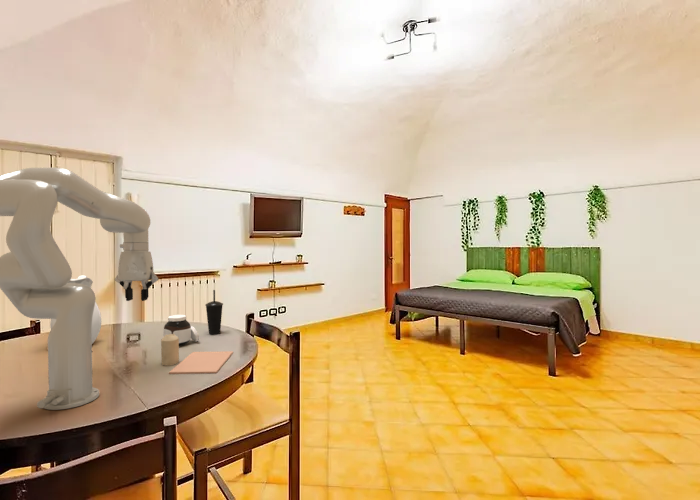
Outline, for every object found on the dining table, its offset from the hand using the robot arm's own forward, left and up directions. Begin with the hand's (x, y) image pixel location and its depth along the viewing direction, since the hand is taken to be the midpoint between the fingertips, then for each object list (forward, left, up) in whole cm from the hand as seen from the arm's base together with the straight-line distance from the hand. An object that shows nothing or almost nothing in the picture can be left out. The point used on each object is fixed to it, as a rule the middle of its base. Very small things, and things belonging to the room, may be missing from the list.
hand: (137, 299), depth 133 cm
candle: (0, -11, -23) cm, 25 cm away
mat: (0, -22, -22) cm, 32 cm away
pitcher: (+28, +37, -23) cm, 52 cm away
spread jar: (+25, -6, -23) cm, 34 cm away
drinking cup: (+41, -14, -23) cm, 49 cm away
